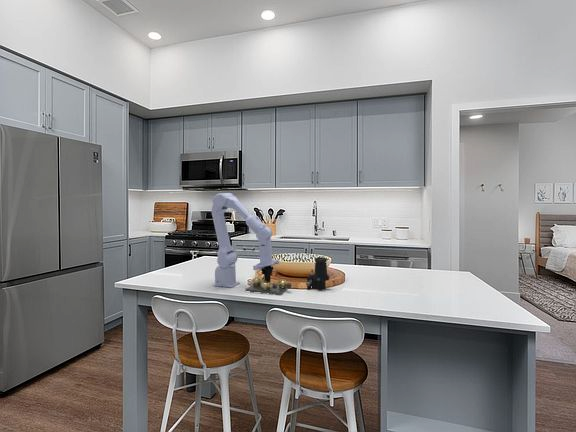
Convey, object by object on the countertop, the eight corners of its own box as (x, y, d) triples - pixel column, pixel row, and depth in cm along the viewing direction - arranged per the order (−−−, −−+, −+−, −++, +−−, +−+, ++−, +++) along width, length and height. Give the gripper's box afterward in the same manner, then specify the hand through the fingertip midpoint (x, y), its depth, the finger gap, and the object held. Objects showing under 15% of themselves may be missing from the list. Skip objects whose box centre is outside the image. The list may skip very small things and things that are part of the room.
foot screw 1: (251, 284, 152) (251, 279, 152) (255, 282, 155) (255, 277, 155) (265, 286, 149) (265, 280, 149) (269, 283, 152) (268, 278, 152)
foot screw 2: (277, 286, 149) (277, 280, 148) (283, 284, 151) (283, 279, 151) (287, 290, 143) (287, 284, 143) (293, 288, 145) (293, 282, 145)
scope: (310, 256, 154) (331, 257, 150) (310, 284, 155) (331, 286, 151) (305, 259, 146) (326, 261, 142) (305, 290, 147) (327, 292, 144)
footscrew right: (259, 289, 145) (259, 283, 145) (263, 286, 148) (263, 281, 148) (274, 290, 142) (274, 285, 142) (278, 288, 146) (277, 282, 145)
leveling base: (245, 291, 147) (245, 287, 147) (256, 284, 157) (256, 280, 157) (280, 295, 141) (280, 291, 141) (289, 287, 151) (289, 283, 151)
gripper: (259, 257, 143) (261, 287, 144) (282, 251, 153) (284, 279, 154) (249, 255, 147) (251, 285, 149) (272, 250, 158) (274, 277, 159)
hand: (267, 282), depth 152 cm, fingers closed, pressing on foot screw 1
